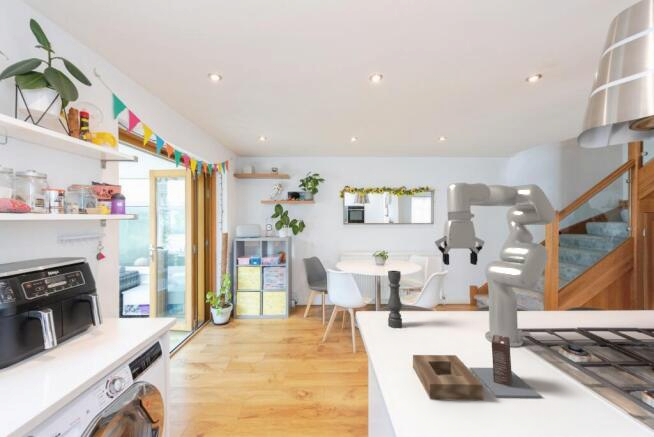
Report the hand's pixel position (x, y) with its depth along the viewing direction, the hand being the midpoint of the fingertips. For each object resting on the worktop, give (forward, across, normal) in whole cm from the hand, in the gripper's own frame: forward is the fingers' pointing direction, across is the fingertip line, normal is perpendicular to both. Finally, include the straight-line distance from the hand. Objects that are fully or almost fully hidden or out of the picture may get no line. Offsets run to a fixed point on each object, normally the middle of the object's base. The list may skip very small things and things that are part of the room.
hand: (460, 264), depth 97 cm
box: (+32, -4, +17) cm, 36 cm away
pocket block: (+32, +13, +17) cm, 39 cm away
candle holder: (+32, +18, -27) cm, 46 cm away
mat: (+32, -4, +17) cm, 37 cm away
